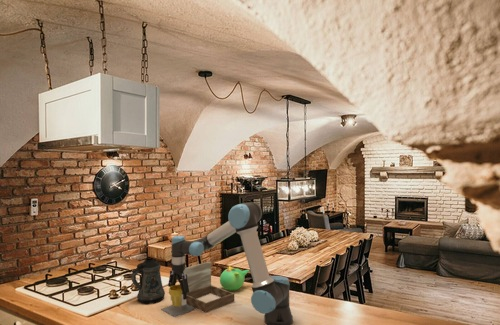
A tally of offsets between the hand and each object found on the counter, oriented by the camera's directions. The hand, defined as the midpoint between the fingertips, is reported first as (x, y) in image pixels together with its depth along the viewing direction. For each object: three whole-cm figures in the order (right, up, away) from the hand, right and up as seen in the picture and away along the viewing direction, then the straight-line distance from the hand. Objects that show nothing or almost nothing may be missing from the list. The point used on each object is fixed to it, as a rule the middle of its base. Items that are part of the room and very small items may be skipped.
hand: (178, 302), depth 197 cm
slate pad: (0, -4, 0) cm, 4 cm away
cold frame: (+16, -4, +11) cm, 20 cm away
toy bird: (+30, -5, +32) cm, 44 cm away
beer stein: (-21, -5, +14) cm, 26 cm away
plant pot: (0, -1, 0) cm, 1 cm away
